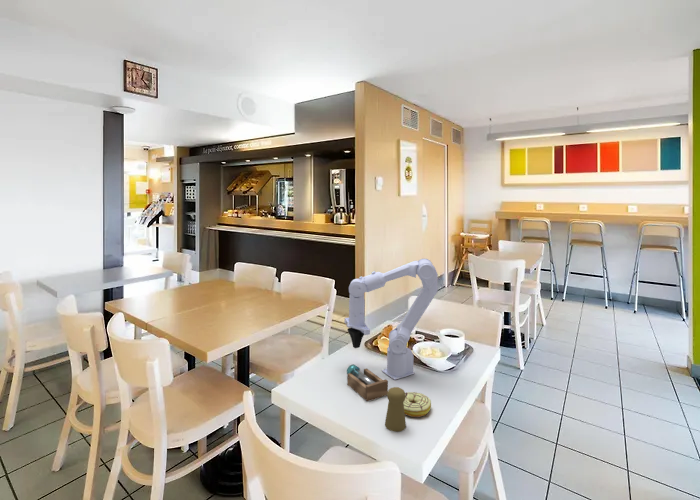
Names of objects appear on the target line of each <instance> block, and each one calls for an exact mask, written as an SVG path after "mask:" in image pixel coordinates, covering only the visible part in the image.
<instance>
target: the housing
mask: <svg viewBox="0 0 700 500" xmlns="http://www.w3.org/2000/svg"><path fill="white" fill-rule="evenodd" d="M363 374H365V375H366V376H367V377H369V378H370V379H371V380H373V381H374V382H375V383H372V384H369V385H365V384H364V383H363V382H361V381H360V380H359V379H357V378H356V377H355V376H354V375H352V374H351V373H349V374H347V373H346V375H347V376H346V377H347V382H346V383H347V386H349V388H351V389H352V390H353V391H354V392H355V393H357V395H359V396H360V397H362V398H363V399H364V400H365V401H366V402H367V403H368V402H371V401H374V400H377V399H379V398H384V397H387V392H388V390H389V389H388V388H389V381H388V380H387V379H386V378H385V379H382V378H381V377H379V376H378V375H377V374H376V373H373V372H372V371H371V370H370V369H368V368H364V369H363Z"/></svg>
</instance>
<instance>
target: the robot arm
mask: <svg viewBox="0 0 700 500" xmlns="http://www.w3.org/2000/svg"><path fill="white" fill-rule="evenodd" d="M406 276H408V277H412V278H416V279H417V276H418V278H419V280H420V281H421V285H422V289H421V290H420V292H419V294H418V295H417V297H416V298H415V299H414V301H413V302H412V304H411V306H410V307H409V309H408V311H407V312H406V314H405V315H404V317H403V318H402V320H401V322H400V323H399V324H397V326H396V327H395V328H394V329H391V330H390V332H389V334H388V341H389V342H388V347H387V348H386V349H387V351H386V352H387V353H386V354H387V355H386V368H384V369H381V372H382V373H383V374H385V375H387V376H388V377H390V378H391V379H393V380H395V381H396V380H398V379H399V380H400V379H402V378H405V377H409V376H412V375H414V374H415V371H414V361H415V360H414V358H415V357H414V352H413V351H412V349H411V348H409V347H408V343H409V340H410V339H411V335H412V332H413V330H414V329H415V327H416V326H417V324H418V323H419V321H420V319H421V318H422V316H423V315H424V313H426V310H427V308H428V307H429V305H431V302H432V301H433V299H434V297H435V296H436V295H437V294H438V290H439V284H438V283H439V281H438V277H439V274H438V271H437V269H436V267H435V266H434V265H433V262H432V261H431V259H429V258H421V259H418V260H413V261H411V262H408V263H405V264H403V265H400V266H398V267H395V268H393V269H390V270H388V271H386V272H381V271H376V270H373V271H372V272H371V274H367V275H365V276H362V275H361V276H359V278H354V279H352V280H351V281H350V284H349V286H348V293H349V295H348V296H349V300H348V317H345V318H344V324H345V325H346V328H347V330H346V331H347V332H348V335H349V336H350V339H351V343H352V347H353V349H358V348H360V347H361V344H362V341H363V338H364V336H368V335H371V329H370V328H369V327H368V325H367V324H366V323H365V320H366V318H365V317H366V316H365V315H366V314H365V313H366V311H365V309H366V308H365V307H366V300H365V293H369V292H372V291H375V290H378V289H381V288H384V287H385V285H386V283H387V282H390V281H394V280H396V279H397V280H398V279H401V278H403V277H406Z"/></svg>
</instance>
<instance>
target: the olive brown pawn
mask: <svg viewBox="0 0 700 500" xmlns="http://www.w3.org/2000/svg"><path fill="white" fill-rule="evenodd" d="M405 393H406V391H405V390H404V389H403V388H402V387H398V386H393V387H390V388H389V389H388V392H387V395H386V397H387V400H388V403H387V409H386V415H385V422H384V427H385V428H386V429H387V430H388V431H391V432H393V433H398V432H399V433H400V432H403V431H405V429H406V428H407V423H406V414H405V412H404V403H403V402H404V400H405V397H406V395H405Z"/></svg>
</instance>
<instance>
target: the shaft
mask: <svg viewBox="0 0 700 500" xmlns="http://www.w3.org/2000/svg"><path fill="white" fill-rule="evenodd" d="M349 373H351V374H352V375H354V376H355V377H356V378H357V379H359V380H360V381H361V382H363V383H364V384H365V385H369V384H372V383H375V382H374V381H373V380H371V379H370V378H369V377H367V376H366V375H365V374H364V372H362V371H361V369H360V367H359V366H357V365H356V364H350V365H349V366H348V367H347V369H346V375H347V374H349Z"/></svg>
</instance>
